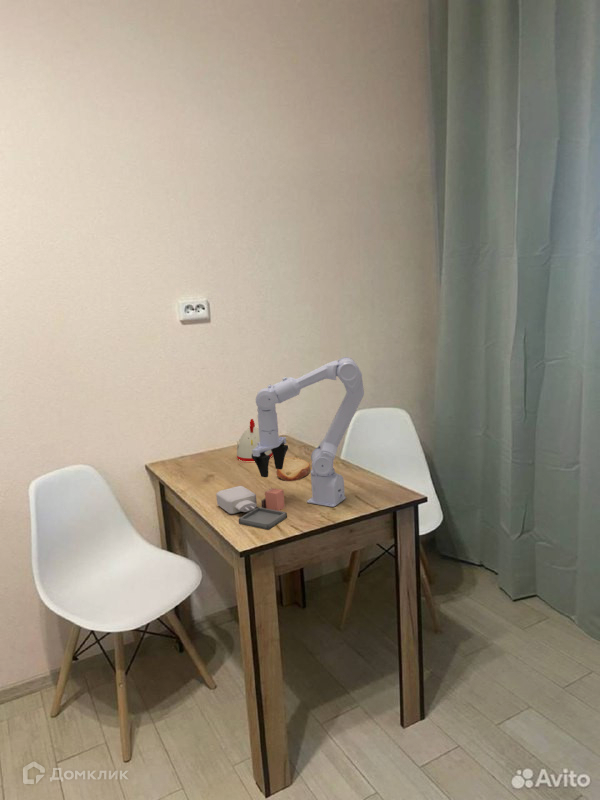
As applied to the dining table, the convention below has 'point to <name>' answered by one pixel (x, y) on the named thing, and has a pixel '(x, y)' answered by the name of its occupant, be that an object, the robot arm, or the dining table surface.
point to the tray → (262, 518)
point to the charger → (236, 500)
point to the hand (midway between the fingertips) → (271, 472)
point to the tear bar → (263, 503)
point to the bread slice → (293, 469)
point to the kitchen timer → (249, 443)
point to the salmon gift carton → (274, 499)
